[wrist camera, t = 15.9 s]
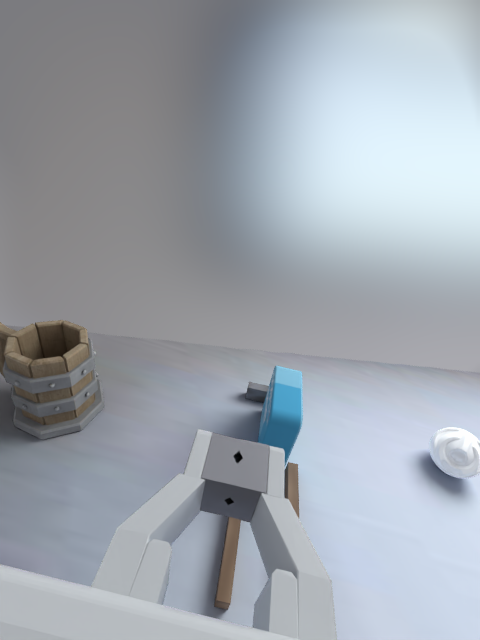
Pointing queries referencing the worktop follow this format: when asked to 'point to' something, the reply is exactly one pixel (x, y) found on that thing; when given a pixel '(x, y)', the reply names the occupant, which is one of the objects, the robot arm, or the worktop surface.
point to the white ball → (456, 452)
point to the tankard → (51, 377)
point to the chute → (233, 526)
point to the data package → (282, 410)
